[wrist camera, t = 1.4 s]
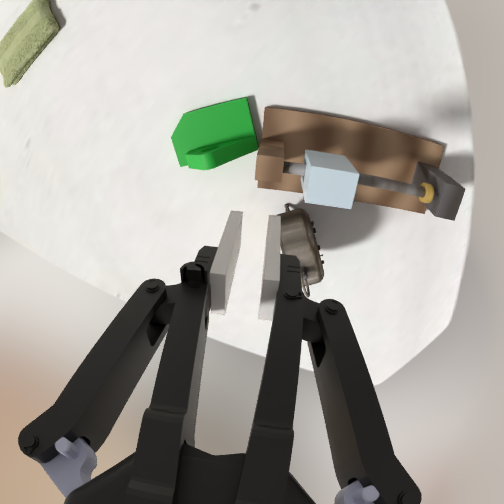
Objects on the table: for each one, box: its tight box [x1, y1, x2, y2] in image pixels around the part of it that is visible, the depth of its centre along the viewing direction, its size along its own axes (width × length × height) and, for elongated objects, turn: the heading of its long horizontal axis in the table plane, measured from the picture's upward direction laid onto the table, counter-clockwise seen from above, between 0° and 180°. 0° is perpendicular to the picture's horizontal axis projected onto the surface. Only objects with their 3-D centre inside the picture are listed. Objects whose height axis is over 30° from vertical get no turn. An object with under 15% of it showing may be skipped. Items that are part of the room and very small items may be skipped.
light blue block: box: [301, 150, 359, 209], centre depth 30 cm, size 5×4×7 cm
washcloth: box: [0, 0, 59, 87], centre depth 27 cm, size 13×18×3 cm
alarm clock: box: [276, 204, 324, 297], centre depth 39 cm, size 11×5×16 cm, turn 19°
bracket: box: [171, 97, 259, 170], centre depth 36 cm, size 12×8×7 cm, turn 103°
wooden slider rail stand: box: [255, 107, 465, 221], centre depth 35 cm, size 28×12×10 cm, turn 86°
